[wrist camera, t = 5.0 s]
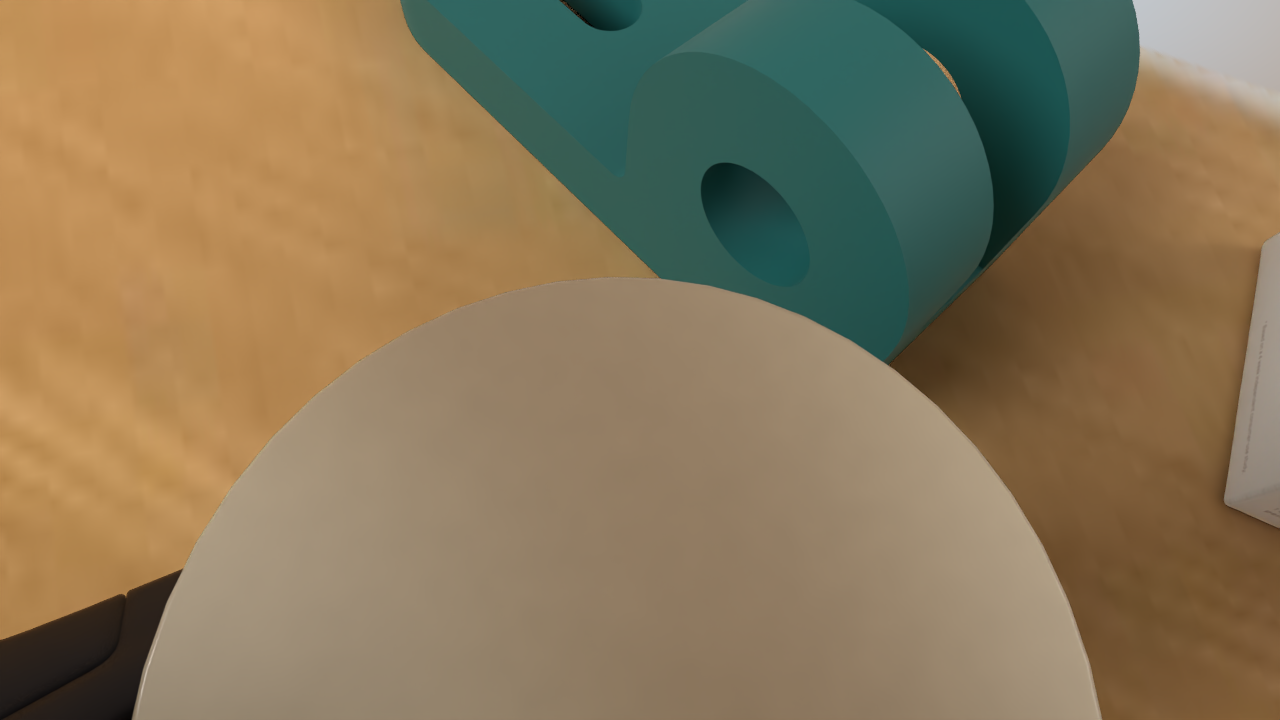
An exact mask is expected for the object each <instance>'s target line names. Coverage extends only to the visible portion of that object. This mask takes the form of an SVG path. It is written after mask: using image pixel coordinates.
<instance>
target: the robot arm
mask: <svg viewBox="0 0 1280 720" xmlns="http://www.w3.org/2000/svg"><path fill="white" fill-rule="evenodd" d="M182 570H183V569H181V570H179V571H176V572H174V573H172V574H169V575H167V576H164V577H162V578H159V579H157V580H154V581H152V582H149V583H147V584H144V585H142V586H139V587H137V588H134V589H132V590H130V591H129V592H128V593H127V596H125V595H123V594H119V595H117V596H114V597H112V598H109V599H107V600H104V601H102V602H99V603H97V604H95V605H92V606H90V607H87V608H85V609H82V610H80V611H77V612H74V613H72V614H69V615H67V616H64V617H61V618H59V619H56V620H54V621H51V622H49V623H46V624H43V625H41V626H38V627H36V628H33V629H30V630H28V631H25V632H23V633H20V634H17V635H14V636H11V637H8V638H6V639H3V640H0V720H132V716H133V711H134V707H135V703H136V698H137V694H138V690H139V685H140V681H141V676H142V672H143V668H144V665H145V663H146V660H147V657H148V654H149V651H150V648H151V646H152V643H153V640H154V637H155V634H156V632H157V629H158V626H159V623H160V620H161V617H162V615H163V612H164V609H165V606H166V603H167V601H168V599H169V597H170V595H171V593H172V591H173V589H174V587H175V585H176V583H177V581H178V579H179V577H180V575H181V573H182Z"/></svg>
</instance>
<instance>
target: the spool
mask: <svg viewBox="0 0 1280 720" xmlns="http://www.w3.org/2000/svg"><path fill="white" fill-rule="evenodd" d="M132 720H1102V716H1101V712H1100V707H1099V703H1098V698H1097V693H1096V689H1095V684H1094V680H1093V675H1092V671H1091V666H1090V662H1089V659H1088V656H1087V653H1086V650H1085V647H1084V645H1083V642H1082V639H1081V636H1080V633H1079V630H1078V627H1077V624H1076V621H1075V618H1074V615H1073V612H1072V609H1071V606H1070V603H1069V601H1068V598H1067V596H1066V594H1065V592H1064V590H1063V588H1062V585H1061V583H1060V581H1059V579H1058V577H1057V575H1056V573H1055V570H1054V568H1053V566H1052V564H1051V562H1050V560H1049V557H1048V555H1047V553H1046V551H1045V549H1044V547H1043V545H1042V543H1041V541H1040V540H1039V538H1038V536H1037V535H1036V533H1035V531H1034V530H1033V528H1032V526H1031V525H1030V523H1029V521H1028V520H1027V518H1026V516H1025V515H1024V513H1023V511H1022V510H1021V508H1020V506H1019V505H1018V503H1017V501H1016V500H1015V498H1014V496H1013V495H1012V493H1011V492H1010V490H1009V489H1008V488H1007V487H1006V485H1005V484H1004V483H1003V481H1002V480H1001V479H1000V477H999V476H998V475H997V473H996V472H995V471H994V469H993V468H992V467H991V466H990V464H989V463H988V462H987V460H986V459H985V458H984V456H983V455H982V454H981V452H980V451H979V450H978V448H977V447H976V446H975V445H974V444H973V443H972V442H971V441H970V440H969V439H968V438H967V436H966V435H965V434H964V433H963V432H962V431H961V430H960V429H959V428H958V427H957V426H956V425H955V424H954V423H953V422H952V421H951V420H950V419H949V418H948V416H947V415H946V414H945V413H944V412H943V411H942V410H941V409H940V408H939V407H938V406H937V405H936V404H935V403H933V402H932V401H931V400H930V399H929V398H928V397H926V396H925V395H924V394H923V393H922V392H920V391H919V390H918V389H917V388H916V387H915V386H913V385H912V384H911V383H910V382H909V381H907V380H906V379H905V378H904V377H903V376H902V375H900V374H899V373H898V372H897V371H896V370H894V369H893V368H891V367H890V366H888V365H887V364H885V363H884V362H882V361H881V360H879V359H878V358H876V357H875V356H873V355H872V354H870V353H869V352H867V351H866V350H864V349H863V348H861V347H860V346H858V345H857V344H856V343H854V342H853V341H851V340H849V339H847V338H845V337H843V336H841V335H839V334H837V333H836V332H834V331H832V330H830V329H828V328H826V327H824V326H822V325H820V324H818V323H816V322H814V321H813V320H811V319H809V318H807V317H805V316H802V315H800V314H797V313H794V312H792V311H789V310H787V309H784V308H781V307H779V306H776V305H774V304H771V303H768V302H766V301H763V300H761V299H758V298H755V297H751V296H747V295H743V294H739V293H735V292H731V291H728V290H724V289H720V288H716V287H712V286H708V285H701V284H694V283H687V282H680V281H673V280H666V279H659V278H622V277H604V278H592V279H581V280H570V281H559V282H553V283H548V284H543V285H539V286H534V287H529V288H524V289H519V290H515V291H510V292H505V293H502V294H499V295H496V296H493V297H490V298H487V299H484V300H481V301H478V302H475V303H472V304H469V305H466V306H463V307H460V308H457V309H455V310H453V311H450V312H448V313H446V314H444V315H442V316H440V317H437V318H435V319H433V320H431V321H429V322H427V323H425V324H422V325H420V326H418V327H416V328H414V329H412V330H409V331H407V332H406V333H404V334H402V335H401V336H399V337H397V338H396V339H394V340H393V341H391V342H389V343H388V344H386V345H384V346H383V347H381V348H379V349H378V350H376V351H375V352H373V353H371V354H370V355H368V356H366V357H365V358H363V359H361V360H360V361H358V362H357V363H356V364H355V365H353V366H352V367H351V368H349V369H348V370H347V371H346V372H344V373H343V374H342V375H341V376H339V377H338V378H337V379H335V380H334V381H333V382H332V383H330V384H329V385H328V386H326V387H325V388H324V389H323V390H321V391H320V392H319V393H317V394H316V395H315V396H314V397H313V398H312V399H311V400H310V401H309V402H308V403H307V404H306V405H304V406H303V407H302V408H301V409H300V410H299V411H298V412H297V413H296V414H295V415H294V416H293V417H292V418H291V419H290V420H289V421H288V422H287V423H286V424H285V425H284V426H283V427H282V428H281V429H280V430H279V431H278V432H277V433H276V434H275V435H274V436H273V437H272V438H271V439H270V440H269V441H268V443H267V444H266V445H265V446H264V448H263V449H262V450H261V451H260V453H259V454H258V455H257V456H256V457H255V459H254V460H253V461H252V462H251V464H250V465H249V466H248V467H247V469H246V470H245V471H244V472H243V473H242V475H241V476H240V477H239V478H238V480H237V481H236V482H235V483H234V485H233V486H232V487H231V489H230V490H229V492H228V493H227V495H226V496H225V498H224V500H223V501H222V503H221V504H220V506H219V507H218V509H217V511H216V512H215V514H214V515H213V517H212V518H211V520H210V521H209V523H208V525H207V526H206V528H205V529H204V531H203V532H202V534H201V536H200V537H199V539H198V540H197V542H196V544H195V546H194V548H193V550H192V552H191V554H190V556H189V558H188V560H187V562H186V564H185V566H184V568H183V570H182V573H181V575H180V577H179V579H178V581H177V583H176V585H175V587H174V589H173V591H172V593H171V595H170V597H169V599H168V601H167V603H166V606H165V609H164V612H163V615H162V617H161V620H160V623H159V626H158V629H157V632H156V634H155V637H154V640H153V643H152V646H151V648H150V651H149V654H148V657H147V660H146V663H145V665H144V668H143V672H142V676H141V681H140V685H139V690H138V694H137V698H136V703H135V707H134V711H133V716H132Z"/></svg>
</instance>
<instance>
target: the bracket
mask: <svg viewBox="0 0 1280 720" xmlns="http://www.w3.org/2000/svg"><path fill="white" fill-rule="evenodd" d="M400 1H401V5H402V9H403V13H404V16H405V19H406V22H407V25H408V27H409V29H410V31H411V33H412V35H413V36H414V38H415V39H416V41H417V42H418V44H419V45H420V46H421V47H422V48H423V49H424V50H425V51H426V52H427V53H428V54H429V55H430V56H431V57H432V58H433V59H434V60H435V61H436V62H437V63H438V64H439V65H440V66H441V67H442V68H443V69H444V70H445V71H446V72H447V73H448V74H449V75H450V76H451V77H453V78H454V79H455V80H456V81H457V82H458V83H459V84H460V85H461V86H462V87H463V88H464V89H465V90H466V91H467V92H468V93H469V94H470V95H471V96H472V97H473V98H474V99H475V100H476V101H477V102H478V103H479V104H481V105H482V106H483V107H484V108H485V109H486V110H487V111H488V112H489V113H490V114H491V115H492V116H493V117H494V118H495V119H496V120H497V121H498V122H499V123H500V124H501V125H502V126H503V127H504V128H505V129H506V130H507V131H508V132H510V133H511V134H512V135H513V136H514V137H515V138H516V139H517V140H518V141H519V142H520V143H521V144H522V145H523V146H524V147H525V148H526V149H527V150H528V151H529V152H530V153H531V154H532V155H533V156H534V157H535V158H536V159H538V160H539V161H540V162H541V163H542V164H543V165H544V166H545V167H546V168H547V169H548V170H549V171H550V172H551V173H552V174H553V175H554V176H555V177H556V178H557V179H558V180H559V181H560V182H561V183H562V184H563V185H564V186H566V187H567V188H568V189H569V190H570V191H571V192H572V193H573V194H574V195H575V196H576V197H577V198H578V199H579V200H580V201H581V202H582V203H583V204H584V205H585V206H586V207H587V208H588V209H589V210H590V211H591V212H592V213H594V214H595V215H596V216H597V217H598V218H599V219H600V220H601V221H602V222H603V223H604V224H605V225H606V226H607V227H608V228H609V229H610V230H611V231H612V232H613V233H614V234H615V235H616V236H617V237H618V238H619V239H620V240H621V241H623V242H624V243H625V244H626V245H627V246H628V247H629V248H630V249H631V250H632V251H633V252H634V253H635V254H636V255H637V256H638V257H639V258H640V259H641V260H642V261H643V262H644V263H645V264H646V265H647V266H648V267H649V268H651V269H652V270H653V271H654V272H655V273H656V274H657V275H658V276H659V277H660V278H661V279H666V280H673V281H680V282H687V283H694V284H701V285H708V286H712V287H716V288H720V289H724V290H728V291H731V292H735V293H739V294H743V295H747V296H751V297H755V298H758V299H761V300H763V301H766V302H768V303H771V304H774V305H776V306H779V307H781V308H784V309H787V310H789V311H792V312H794V313H797V314H800V315H802V316H805V317H807V318H809V319H811V320H813V321H814V322H816V323H818V324H820V325H822V326H824V327H826V328H828V329H830V330H832V331H834V332H836V333H837V334H839V335H841V336H843V337H845V338H847V339H849V340H851V341H853V342H854V343H856V344H857V345H858V346H860V347H861V348H863V349H864V350H866V351H867V352H869V353H870V354H872V355H873V356H875V357H876V358H878V359H879V360H881V361H882V362H884V363H885V364H887V365H889V364H890V363H891V362H892V361H893V360H894V359H895V358H896V357H897V356H898V355H899V354H900V353H901V352H902V351H903V350H904V349H905V348H906V347H907V346H908V345H909V344H910V343H911V342H912V341H913V340H914V339H915V338H917V337H918V336H919V335H920V334H921V333H922V332H923V331H924V330H925V329H926V328H927V327H928V326H929V325H930V324H931V323H932V322H933V321H934V320H935V319H936V318H937V317H938V316H939V315H940V314H941V313H942V312H943V311H944V310H945V309H946V308H947V307H948V306H949V305H950V304H952V303H953V302H954V301H955V300H956V299H957V298H958V297H959V296H960V295H961V294H962V293H963V292H964V291H965V290H966V289H967V288H968V287H969V286H970V285H971V284H972V283H973V282H974V281H975V280H976V279H977V278H978V277H979V276H980V275H981V274H982V273H983V272H984V271H985V270H987V269H988V268H989V267H990V266H991V265H992V264H993V263H994V262H995V261H996V260H997V259H998V257H999V256H1000V255H1001V254H1002V253H1003V252H1004V251H1005V250H1006V249H1007V248H1008V247H1009V246H1010V245H1011V244H1012V243H1013V242H1014V241H1015V240H1016V239H1017V238H1018V237H1019V236H1020V234H1021V233H1022V232H1023V231H1024V230H1025V229H1026V228H1027V227H1028V226H1029V225H1030V224H1031V223H1032V222H1033V221H1034V220H1035V219H1036V218H1037V217H1038V216H1039V215H1040V214H1041V212H1042V211H1043V210H1044V209H1045V208H1046V207H1047V206H1048V205H1049V204H1050V203H1051V202H1052V201H1053V200H1054V199H1055V198H1056V197H1057V196H1058V195H1059V194H1060V193H1061V192H1062V191H1063V189H1064V188H1065V187H1066V186H1067V185H1068V184H1069V183H1070V182H1071V181H1072V180H1073V179H1074V178H1075V177H1076V176H1077V175H1078V174H1079V173H1080V172H1081V171H1082V170H1083V169H1084V168H1085V166H1086V165H1087V164H1088V163H1089V162H1090V161H1091V160H1092V159H1093V158H1094V157H1095V156H1096V155H1097V154H1098V153H1099V152H1100V151H1101V150H1102V149H1103V147H1104V146H1105V145H1106V144H1107V143H1108V141H1109V140H1110V139H1111V138H1112V137H1113V135H1114V133H1115V132H1116V130H1117V129H1118V127H1119V126H1120V124H1121V123H1122V120H1123V118H1124V116H1125V114H1126V112H1127V110H1128V108H1129V105H1130V102H1131V99H1132V96H1133V93H1134V90H1135V86H1136V81H1137V76H1138V69H1139V56H1140V47H1139V30H1138V24H1137V18H1136V12H1135V9H1134V5H1133V2H1132V0H564V1H565V2H566V3H568V4H569V5H570V6H571V7H572V8H573V9H574V10H576V11H577V12H578V13H579V14H580V15H581V16H582V17H584V18H585V19H586V20H587V21H588V22H589V23H590V24H592V25H593V26H594V27H595V28H596V29H595V28H593V27H591V26H589V25H587V24H586V23H584V22H583V21H582V20H581V19H580V18H579V17H577V16H576V15H575V14H574V13H573V12H572V11H571V10H569V9H568V8H567V7H566V6H565V5H564V4H563V3H562V2H560V1H559V0H400ZM922 48H923V49H925V50H926V51H928V52H929V53H931V54H932V55H933V56H934V57H935V58H937V59H938V60H939V61H940V62H941V63H942V64H943V66H944V67H945V68H946V69H947V70H948V72H949V73H950V75H951V76H952V78H953V79H954V81H955V83H956V85H957V87H958V90H959V92H960V95H961V98H960V96H959V95H958V93H957V91H956V90H955V88H954V86H953V85H952V84H951V82H950V81H949V80H948V78H947V77H946V76H945V74H944V73H943V72H942V70H941V69H940V68H939V66H938V65H937V64H936V63H935V62H934V61H933V60H932V59H931V57H930V56H929V55H928V54H927V53H926V52H925V51H924V50H923V49H922Z"/></svg>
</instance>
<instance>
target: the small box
mask: <svg viewBox="0 0 1280 720" xmlns="http://www.w3.org/2000/svg"><path fill="white" fill-rule="evenodd" d="M1224 502H1225V504H1226V505H1227V506H1229V507H1231V508H1234V509H1236V510H1239V511H1241V512H1243V513H1245V514H1248V515H1250V516H1252V517H1254V518H1256V519H1259V520H1261V521H1263V522H1266V523H1268V524H1270V525H1272V526H1275V527H1277V528H1279V529H1280V232H1279V233H1277V234H1276V235H1274V236H1272V237H1271V238H1269V239H1268V240H1266V241H1265V242H1264V244H1263V246H1262V249H1261V256H1260V264H1259V271H1258V278H1257V285H1256V292H1255V298H1254V305H1253V312H1252V318H1251V324H1250V330H1249V337H1248V344H1247V351H1246V358H1245V364H1244V370H1243V376H1242V383H1241V389H1240V395H1239V402H1238V409H1237V416H1236V423H1235V430H1234V438H1233V445H1232V451H1231V458H1230V464H1229V470H1228V477H1227V483H1226V489H1225V495H1224Z"/></svg>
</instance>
